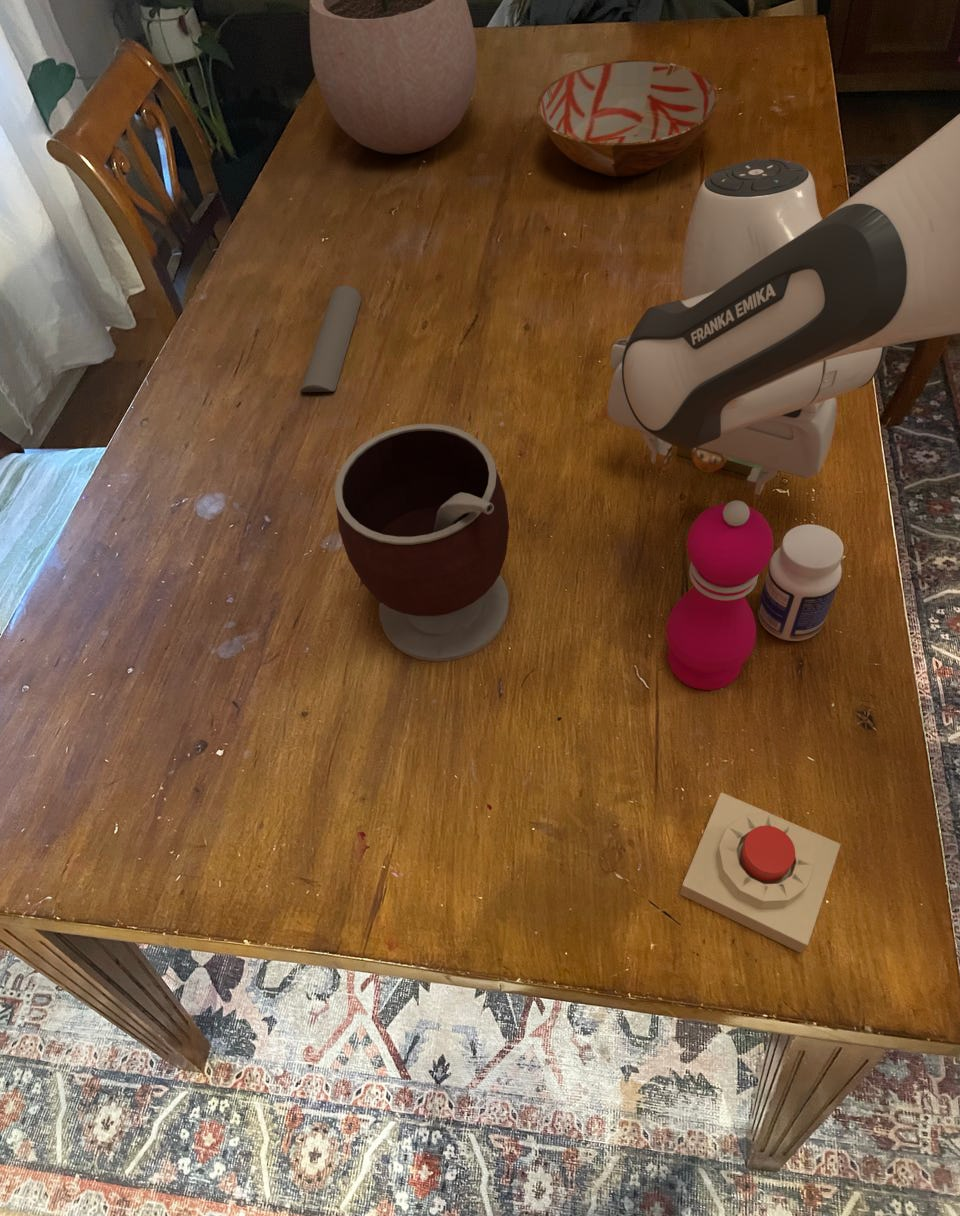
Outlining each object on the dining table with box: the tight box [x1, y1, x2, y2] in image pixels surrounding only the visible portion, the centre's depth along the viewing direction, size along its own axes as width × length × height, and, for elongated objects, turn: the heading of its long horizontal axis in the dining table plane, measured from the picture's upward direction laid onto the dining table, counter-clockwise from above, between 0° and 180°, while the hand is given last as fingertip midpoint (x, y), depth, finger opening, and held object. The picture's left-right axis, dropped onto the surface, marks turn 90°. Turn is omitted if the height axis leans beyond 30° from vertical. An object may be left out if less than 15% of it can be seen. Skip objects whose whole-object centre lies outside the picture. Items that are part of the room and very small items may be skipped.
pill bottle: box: [757, 523, 845, 642], centre depth 72 cm, size 6×6×10 cm
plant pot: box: [309, 0, 477, 155], centre depth 122 cm, size 24×24×30 cm
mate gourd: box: [334, 423, 510, 663], centre depth 72 cm, size 16×14×20 cm
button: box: [741, 826, 795, 881], centre depth 59 cm, size 3×3×2 cm
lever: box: [691, 447, 728, 473], centre depth 81 cm, size 14×3×3 cm
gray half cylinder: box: [299, 285, 362, 393], centre depth 105 cm, size 4×20×2 cm, turn 175°
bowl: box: [535, 59, 719, 178], centre depth 122 cm, size 25×25×8 cm
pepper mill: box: [665, 500, 774, 691], centre depth 66 cm, size 7×7×20 cm
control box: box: [679, 792, 841, 954], centre depth 61 cm, size 9×8×4 cm
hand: (706, 474), depth 83 cm, fingers open, 8 cm apart
